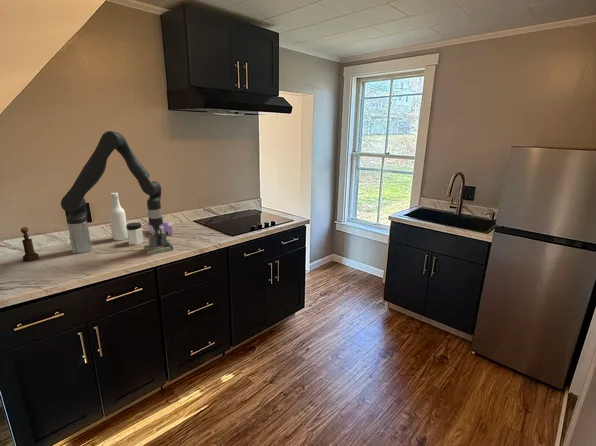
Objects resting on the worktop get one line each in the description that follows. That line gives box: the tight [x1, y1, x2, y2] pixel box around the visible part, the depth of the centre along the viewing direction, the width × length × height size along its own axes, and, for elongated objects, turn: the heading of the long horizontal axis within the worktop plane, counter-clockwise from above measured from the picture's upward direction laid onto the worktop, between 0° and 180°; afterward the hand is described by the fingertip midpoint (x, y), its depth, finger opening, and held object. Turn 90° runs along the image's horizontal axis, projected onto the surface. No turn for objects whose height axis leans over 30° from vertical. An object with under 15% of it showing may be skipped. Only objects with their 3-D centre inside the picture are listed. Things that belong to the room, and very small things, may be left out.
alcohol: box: [108, 192, 128, 242], centre depth 200 cm, size 9×9×30 cm
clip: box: [147, 221, 174, 236], centre depth 215 cm, size 20×12×7 cm, turn 52°
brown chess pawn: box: [20, 226, 40, 262], centre depth 167 cm, size 7×6×18 cm
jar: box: [126, 222, 144, 246], centre depth 196 cm, size 9×8×12 cm
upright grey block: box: [147, 231, 168, 249], centre depth 185 cm, size 9×5×8 cm, turn 125°
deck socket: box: [143, 239, 174, 255], centre depth 186 cm, size 14×11×3 cm
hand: (158, 243), depth 186 cm, fingers closed on upright grey block, 5 cm apart
